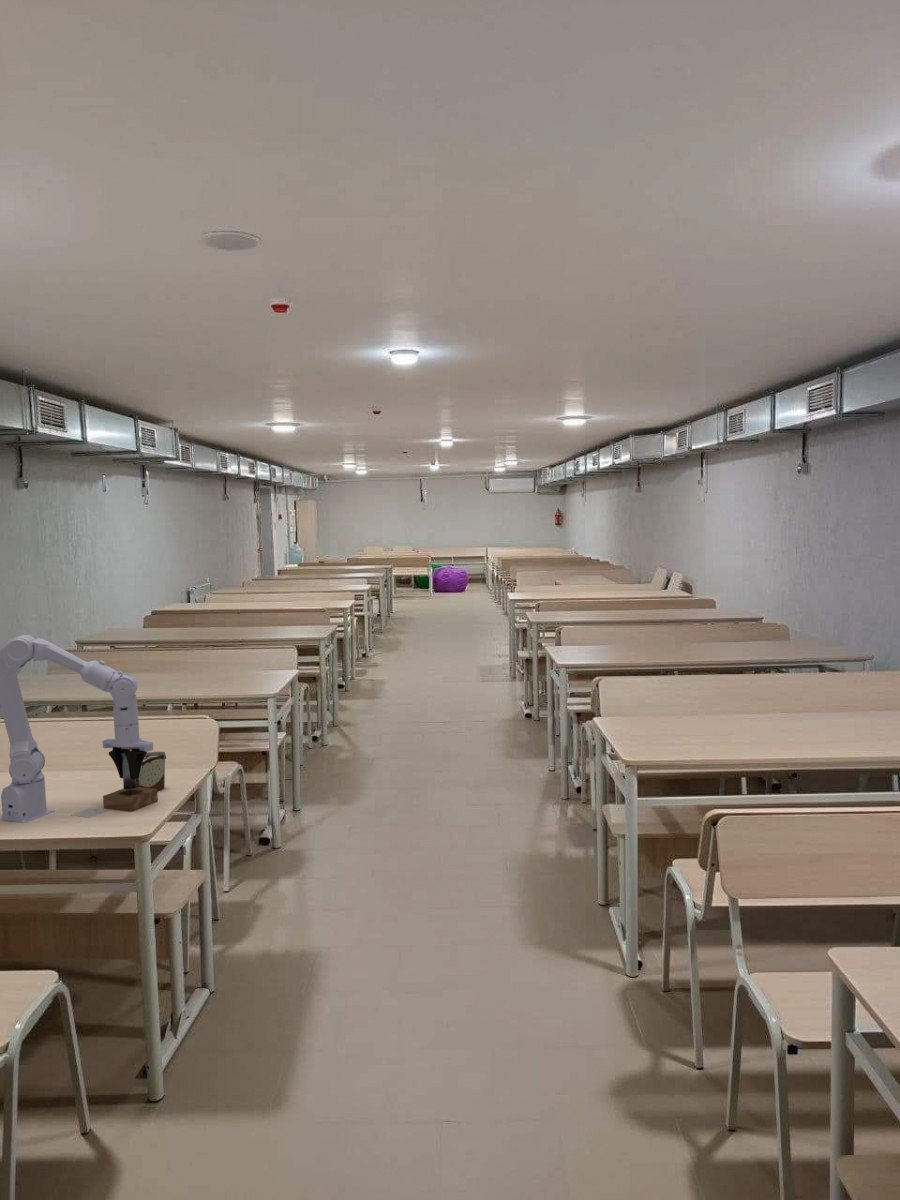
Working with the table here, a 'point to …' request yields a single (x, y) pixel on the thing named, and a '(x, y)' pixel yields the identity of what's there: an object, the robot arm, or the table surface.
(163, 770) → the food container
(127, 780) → the peg
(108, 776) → the table surface
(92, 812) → the mat
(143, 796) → the hole block
